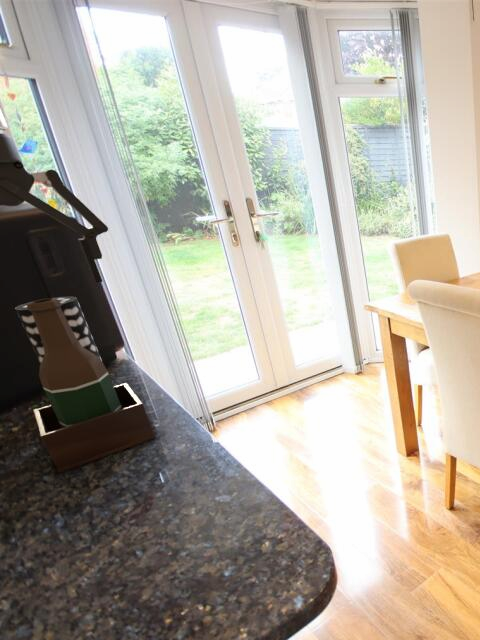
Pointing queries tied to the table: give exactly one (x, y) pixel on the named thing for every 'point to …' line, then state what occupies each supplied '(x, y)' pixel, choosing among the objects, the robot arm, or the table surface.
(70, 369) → the beer bottle
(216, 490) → the table surface
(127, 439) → the brown wooden open box
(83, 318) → the spotted tube
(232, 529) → the table surface
